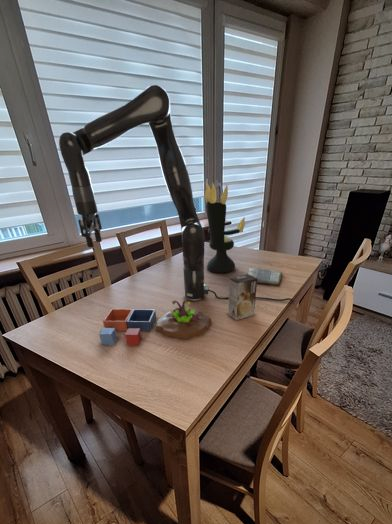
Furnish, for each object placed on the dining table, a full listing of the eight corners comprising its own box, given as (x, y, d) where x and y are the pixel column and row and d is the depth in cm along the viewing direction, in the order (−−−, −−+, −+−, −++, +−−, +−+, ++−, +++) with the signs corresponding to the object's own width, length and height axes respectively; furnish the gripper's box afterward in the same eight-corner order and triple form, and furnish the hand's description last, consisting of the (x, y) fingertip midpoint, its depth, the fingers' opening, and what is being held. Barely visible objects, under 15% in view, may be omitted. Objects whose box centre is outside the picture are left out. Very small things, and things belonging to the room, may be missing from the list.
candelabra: (242, 267, 166) (249, 179, 140) (225, 278, 150) (229, 183, 124) (215, 262, 174) (216, 179, 148) (196, 273, 159) (194, 182, 133)
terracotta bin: (134, 317, 116) (133, 309, 113) (127, 330, 107) (125, 321, 105) (113, 317, 116) (111, 308, 114) (105, 330, 108) (102, 321, 105)
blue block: (117, 338, 103) (115, 327, 100) (113, 344, 99) (111, 334, 97) (105, 337, 103) (103, 327, 100) (101, 344, 99) (99, 334, 97)
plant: (191, 344, 98) (190, 316, 92) (148, 330, 107) (145, 304, 100) (217, 320, 112) (218, 295, 105) (178, 310, 121) (176, 285, 114)
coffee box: (245, 309, 120) (248, 273, 111) (254, 315, 115) (258, 278, 106) (227, 314, 116) (229, 277, 107) (236, 320, 112) (238, 282, 103)
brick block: (141, 338, 102) (140, 328, 99) (138, 345, 98) (137, 334, 96) (130, 338, 102) (128, 328, 100) (126, 345, 99) (124, 334, 96)
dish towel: (279, 286, 140) (280, 280, 138) (244, 282, 145) (244, 276, 143) (282, 274, 155) (283, 268, 153) (250, 271, 159) (250, 265, 158)
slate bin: (156, 318, 115) (155, 309, 113) (150, 331, 106) (149, 322, 104) (135, 317, 116) (133, 309, 113) (128, 330, 107) (126, 321, 105)
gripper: (86, 202, 98) (97, 249, 107) (101, 197, 109) (110, 239, 119) (66, 202, 98) (78, 249, 108) (83, 197, 110) (93, 240, 119)
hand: (95, 244), depth 113 cm, fingers open, 8 cm apart
